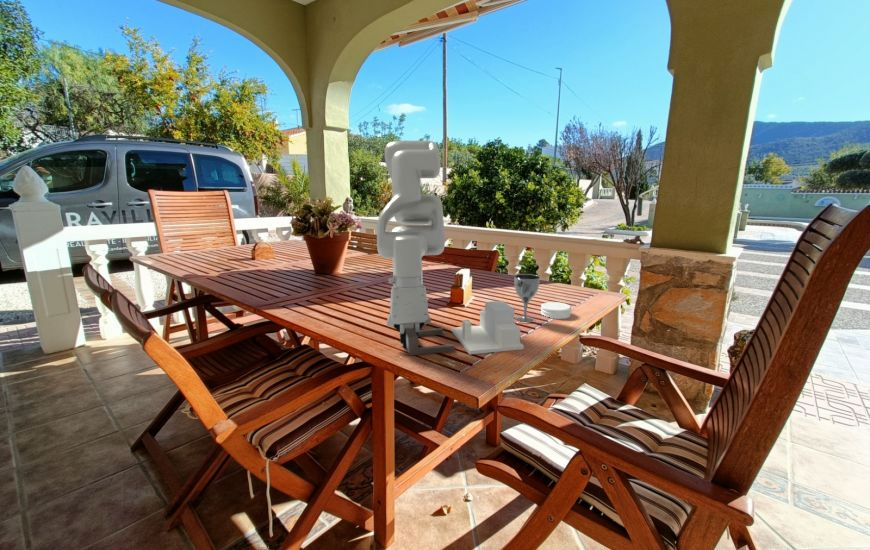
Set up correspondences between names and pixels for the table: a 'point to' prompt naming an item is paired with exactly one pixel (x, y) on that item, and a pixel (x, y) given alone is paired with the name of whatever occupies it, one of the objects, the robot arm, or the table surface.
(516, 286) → the wine glass
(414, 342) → the grey frame
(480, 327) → the stand
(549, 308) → the white round disc
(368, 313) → the table surface
